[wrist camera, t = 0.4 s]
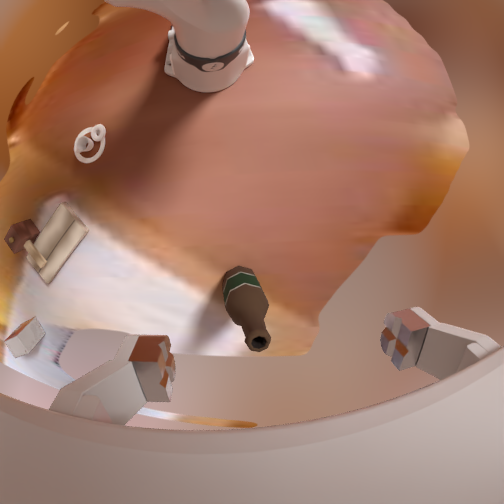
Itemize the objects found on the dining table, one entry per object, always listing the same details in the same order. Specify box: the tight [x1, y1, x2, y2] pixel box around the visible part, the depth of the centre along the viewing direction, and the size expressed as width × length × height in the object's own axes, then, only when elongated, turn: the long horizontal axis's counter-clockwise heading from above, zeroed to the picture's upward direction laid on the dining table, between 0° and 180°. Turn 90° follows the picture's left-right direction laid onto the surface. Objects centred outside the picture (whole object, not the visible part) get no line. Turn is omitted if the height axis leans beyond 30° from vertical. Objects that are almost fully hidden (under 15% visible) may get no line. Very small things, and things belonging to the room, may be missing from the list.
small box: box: [4, 317, 45, 358], centre depth 49 cm, size 8×6×10 cm
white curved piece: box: [74, 124, 106, 163], centre depth 45 cm, size 9×8×4 cm
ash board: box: [26, 202, 89, 284], centre depth 49 cm, size 9×18×2 cm, turn 131°
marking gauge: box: [4, 219, 47, 268], centre depth 45 cm, size 12×4×9 cm, turn 41°
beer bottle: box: [223, 266, 271, 352], centre depth 48 cm, size 8×8×24 cm
